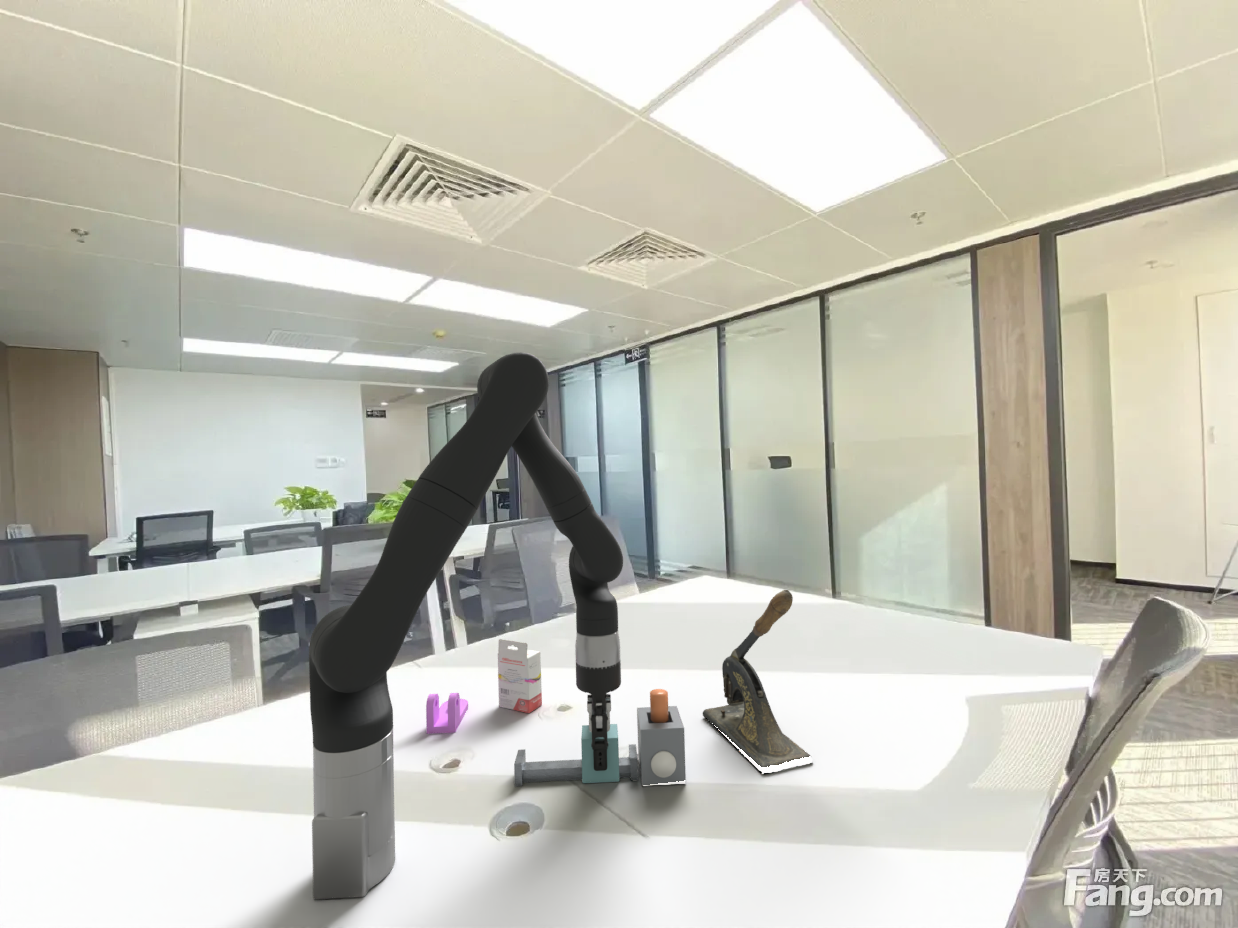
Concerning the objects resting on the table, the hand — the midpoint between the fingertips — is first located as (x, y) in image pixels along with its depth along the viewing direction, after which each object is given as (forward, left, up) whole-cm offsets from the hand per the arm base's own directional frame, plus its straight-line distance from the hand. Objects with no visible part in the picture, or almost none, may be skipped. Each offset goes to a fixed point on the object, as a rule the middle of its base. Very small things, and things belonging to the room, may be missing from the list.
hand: (600, 759), depth 88 cm
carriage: (0, 0, -2) cm, 2 cm away
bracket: (+24, +31, -3) cm, 39 cm away
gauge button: (0, -10, +6) cm, 12 cm away
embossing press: (+9, -29, -3) cm, 30 cm away
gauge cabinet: (0, -10, -2) cm, 10 cm away
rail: (0, +4, -2) cm, 5 cm away
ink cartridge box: (+28, +17, -3) cm, 33 cm away
